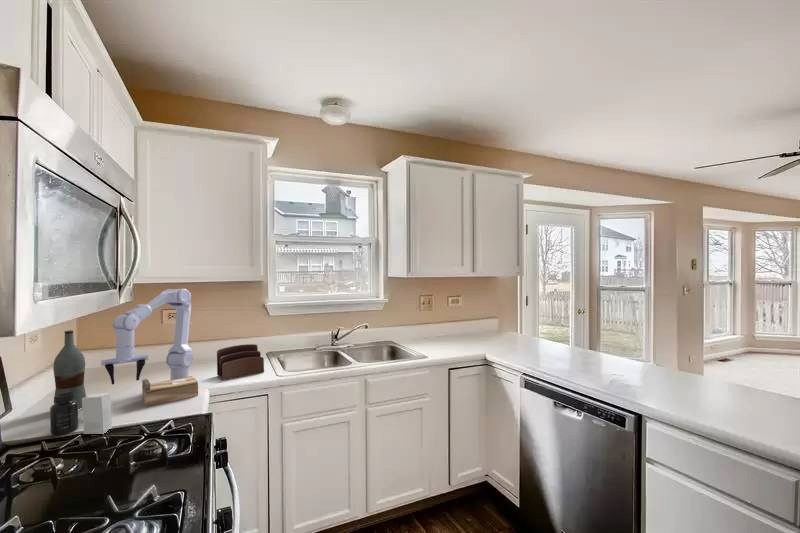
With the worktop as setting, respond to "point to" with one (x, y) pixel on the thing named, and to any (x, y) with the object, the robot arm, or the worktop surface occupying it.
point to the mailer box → (169, 394)
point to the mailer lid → (167, 384)
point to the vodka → (70, 370)
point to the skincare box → (96, 413)
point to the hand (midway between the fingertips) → (125, 381)
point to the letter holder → (239, 361)
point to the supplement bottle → (64, 414)
